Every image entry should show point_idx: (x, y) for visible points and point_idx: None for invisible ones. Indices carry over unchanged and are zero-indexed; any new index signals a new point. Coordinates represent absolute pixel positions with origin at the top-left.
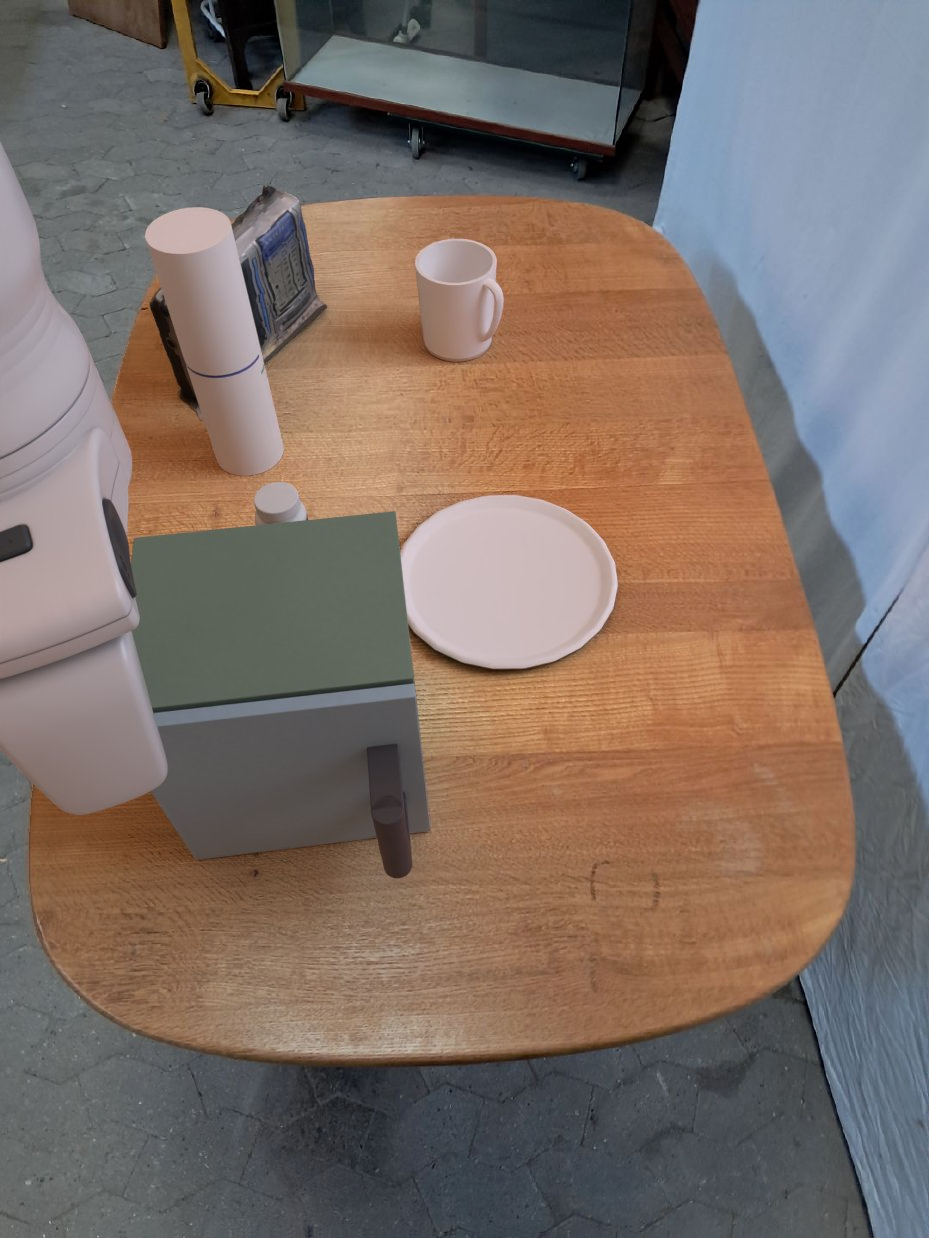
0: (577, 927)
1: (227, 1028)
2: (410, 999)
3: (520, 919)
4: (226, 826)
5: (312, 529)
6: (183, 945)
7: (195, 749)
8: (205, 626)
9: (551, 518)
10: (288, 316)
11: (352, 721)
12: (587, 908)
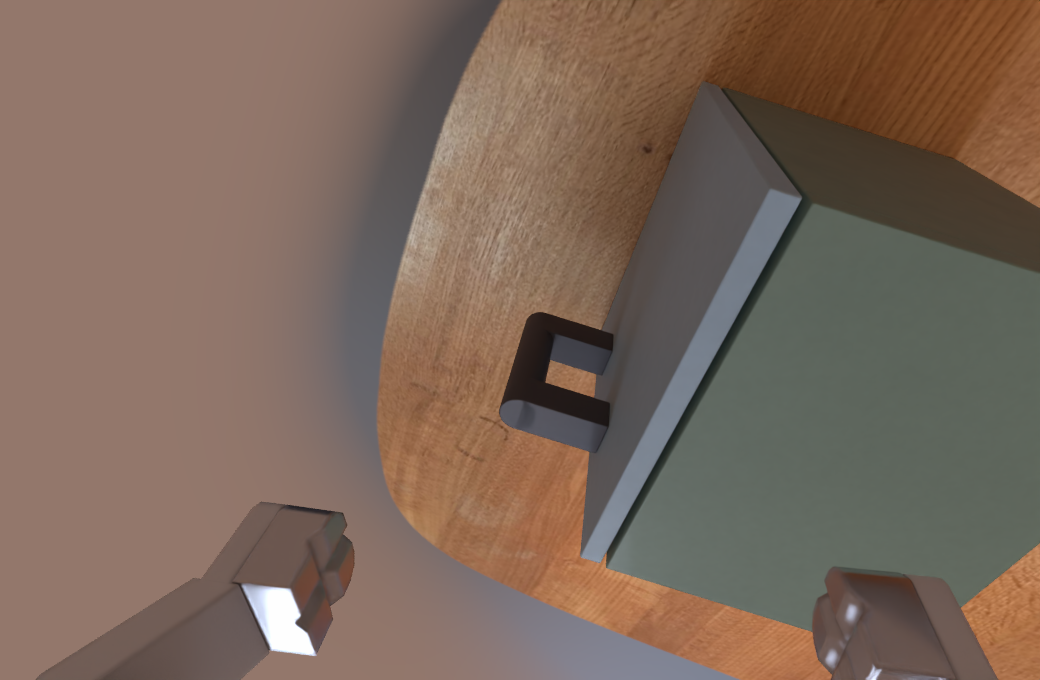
0: (462, 396)
1: (485, 66)
2: (451, 253)
3: (485, 363)
4: (684, 165)
5: (964, 580)
6: (600, 36)
7: (699, 266)
8: (891, 398)
9: None
10: None
11: (610, 467)
12: (474, 409)
